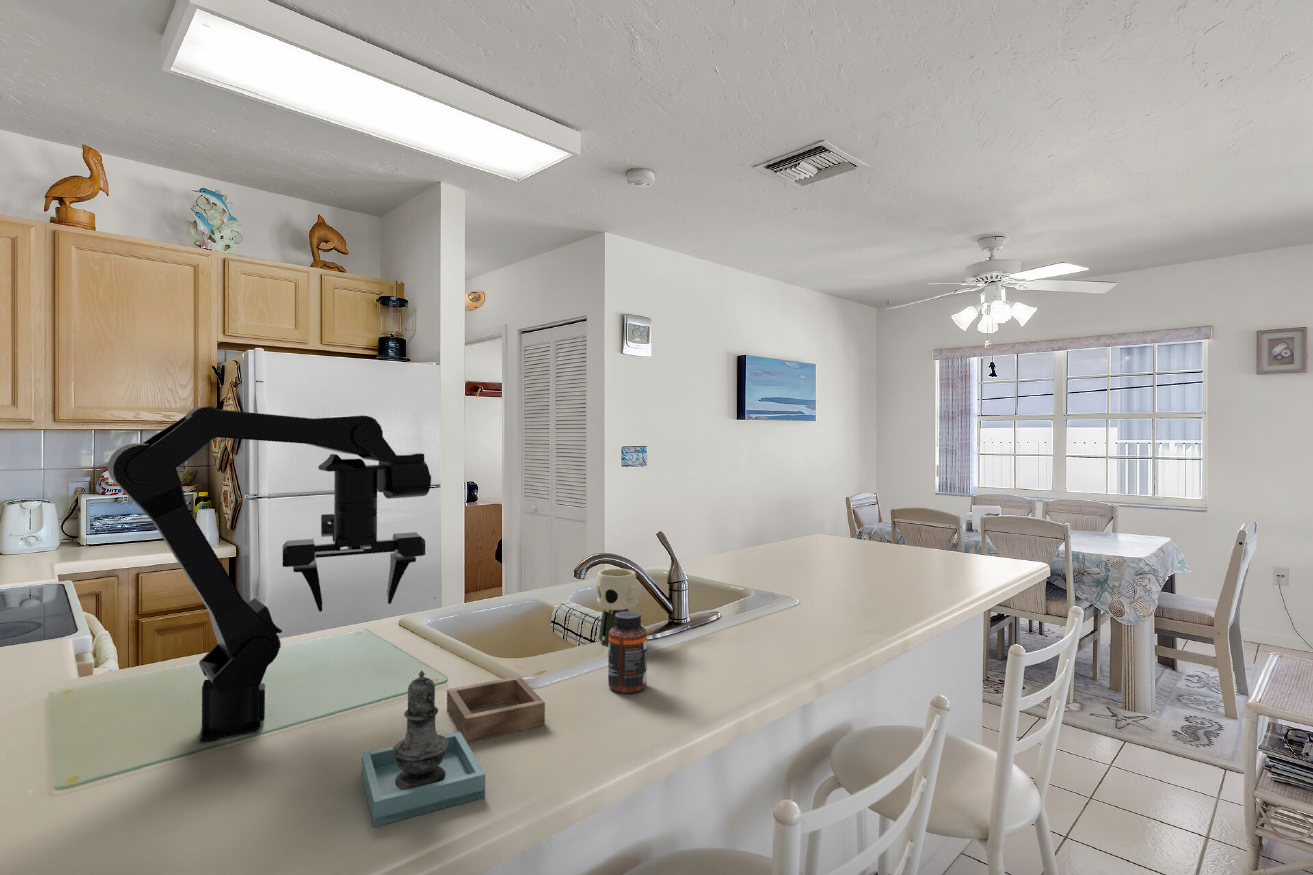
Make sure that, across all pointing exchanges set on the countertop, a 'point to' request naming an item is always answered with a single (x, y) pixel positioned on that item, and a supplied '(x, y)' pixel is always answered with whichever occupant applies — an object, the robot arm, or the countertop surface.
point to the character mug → (615, 596)
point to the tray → (399, 804)
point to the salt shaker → (420, 739)
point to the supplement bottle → (627, 653)
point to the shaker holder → (499, 719)
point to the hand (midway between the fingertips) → (355, 606)
